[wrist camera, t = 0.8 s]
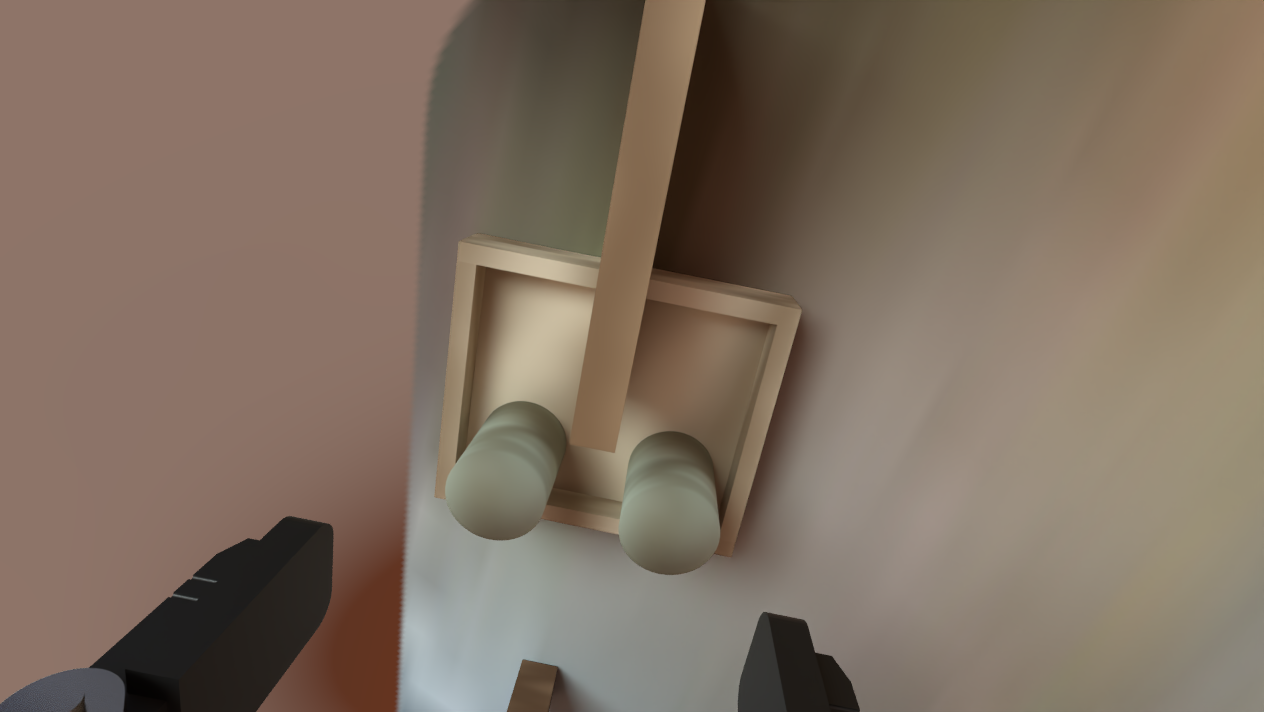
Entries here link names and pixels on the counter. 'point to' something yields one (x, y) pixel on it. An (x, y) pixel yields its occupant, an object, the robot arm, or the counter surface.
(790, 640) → the robot arm
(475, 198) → the counter surface
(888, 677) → the counter surface
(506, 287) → the tray
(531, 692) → the wooden rack
